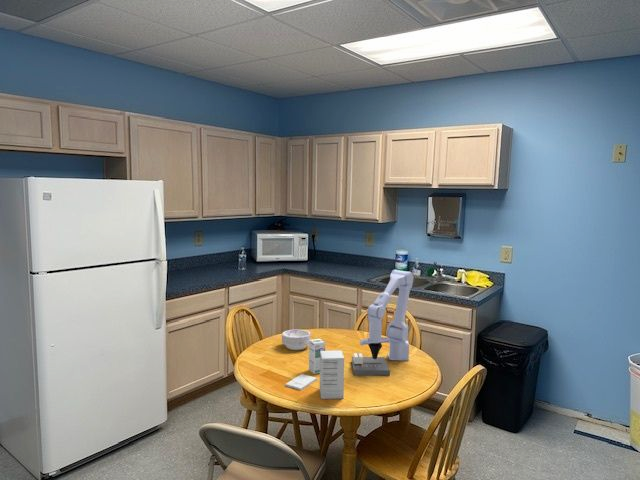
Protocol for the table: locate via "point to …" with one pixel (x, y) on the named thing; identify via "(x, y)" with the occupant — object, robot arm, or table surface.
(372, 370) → the slide fader panel
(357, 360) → the fader knob
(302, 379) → the external hard drive
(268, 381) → the table surface
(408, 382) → the table surface
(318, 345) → the syrup box
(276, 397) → the table surface
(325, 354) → the supplement box
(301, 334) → the paper bowls
